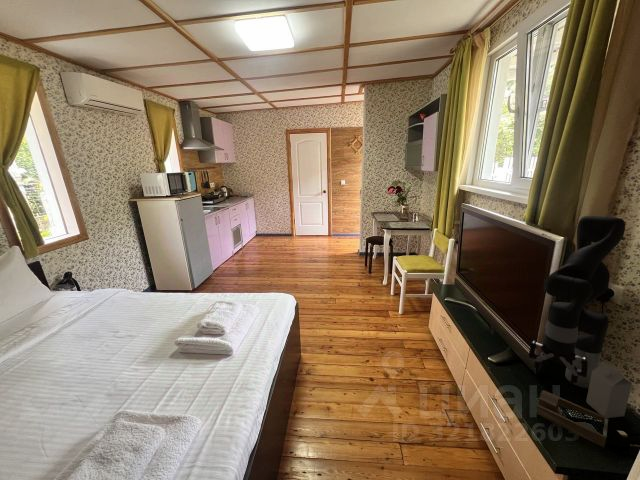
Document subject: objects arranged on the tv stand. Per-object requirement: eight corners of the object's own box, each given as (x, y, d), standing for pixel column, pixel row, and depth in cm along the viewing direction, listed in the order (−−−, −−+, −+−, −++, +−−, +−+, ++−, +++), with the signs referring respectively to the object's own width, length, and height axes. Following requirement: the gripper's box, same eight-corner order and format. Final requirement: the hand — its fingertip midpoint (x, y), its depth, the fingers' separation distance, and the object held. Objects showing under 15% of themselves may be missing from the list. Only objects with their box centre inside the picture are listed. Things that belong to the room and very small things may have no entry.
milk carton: (603, 400, 103) (612, 360, 98) (624, 416, 96) (634, 374, 92) (585, 402, 103) (593, 362, 98) (605, 418, 96) (614, 376, 92)
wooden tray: (542, 397, 107) (543, 390, 106) (606, 427, 94) (608, 418, 93) (536, 413, 101) (537, 405, 100) (604, 447, 87) (606, 438, 86)
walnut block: (541, 398, 105) (542, 390, 104) (557, 406, 101) (558, 398, 100) (538, 406, 102) (539, 398, 101) (554, 414, 98) (556, 406, 97)
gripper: (593, 337, 80) (585, 379, 85) (534, 321, 91) (530, 359, 95) (591, 350, 76) (583, 394, 80) (529, 331, 86) (525, 371, 90)
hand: (554, 375), depth 88 cm, fingers open, 8 cm apart
